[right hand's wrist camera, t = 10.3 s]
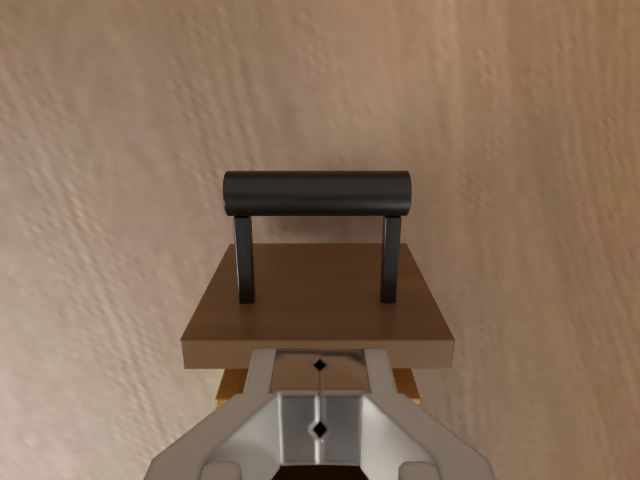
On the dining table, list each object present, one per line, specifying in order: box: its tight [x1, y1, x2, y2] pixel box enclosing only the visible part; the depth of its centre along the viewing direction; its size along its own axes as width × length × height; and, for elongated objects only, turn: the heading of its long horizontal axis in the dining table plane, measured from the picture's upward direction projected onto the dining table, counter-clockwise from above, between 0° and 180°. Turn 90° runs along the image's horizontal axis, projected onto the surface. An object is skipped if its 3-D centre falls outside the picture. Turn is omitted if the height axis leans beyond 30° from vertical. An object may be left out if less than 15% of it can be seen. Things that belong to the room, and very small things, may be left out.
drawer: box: [180, 171, 455, 480], centre depth 22 cm, size 25×9×9 cm, turn 0°
